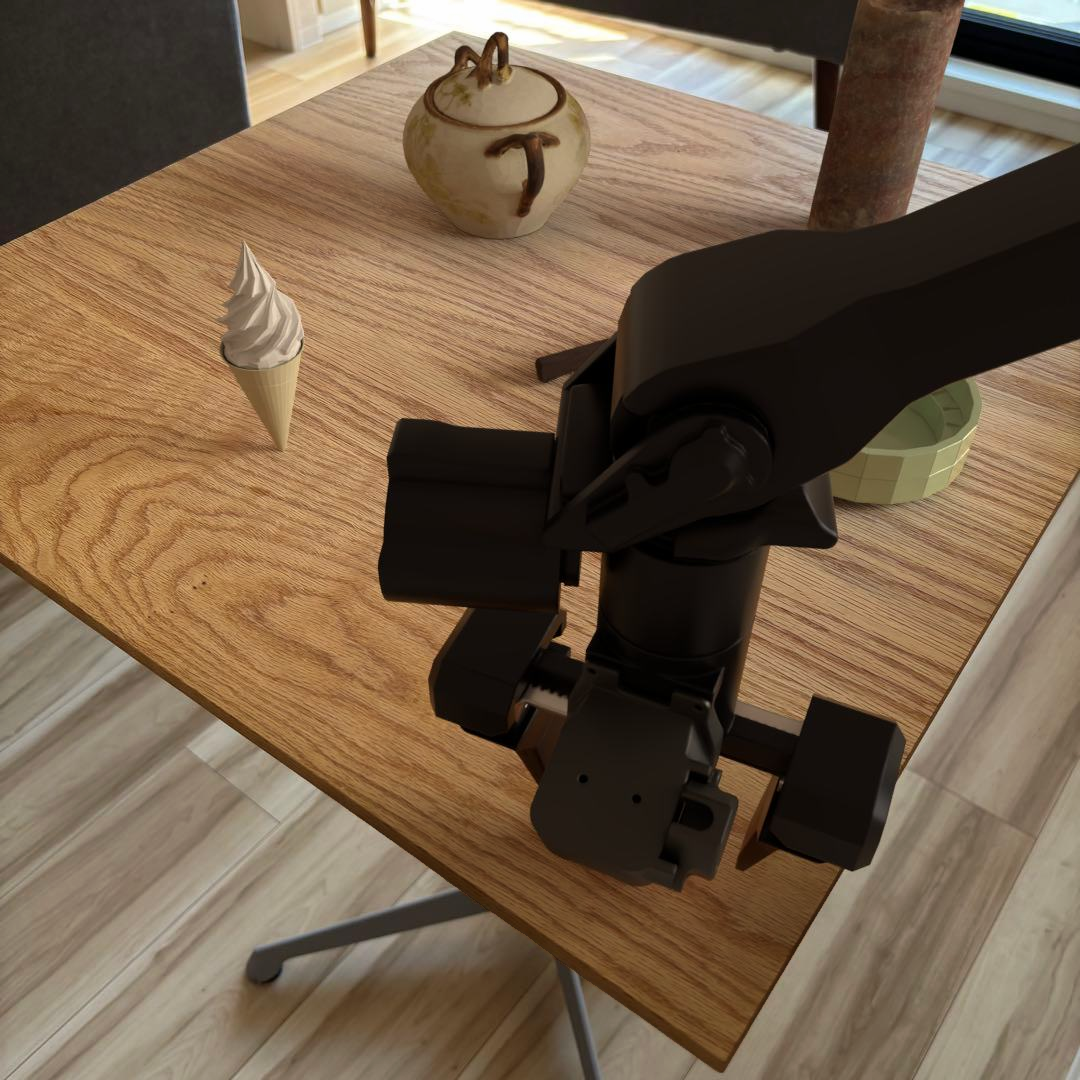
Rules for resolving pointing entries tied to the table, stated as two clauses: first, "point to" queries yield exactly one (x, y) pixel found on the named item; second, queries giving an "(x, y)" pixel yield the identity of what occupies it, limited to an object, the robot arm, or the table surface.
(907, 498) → the serving bowl
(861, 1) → the candle
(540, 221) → the sugar bowl
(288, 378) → the ice cream cone
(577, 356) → the kitchen knife
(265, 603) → the table surface
